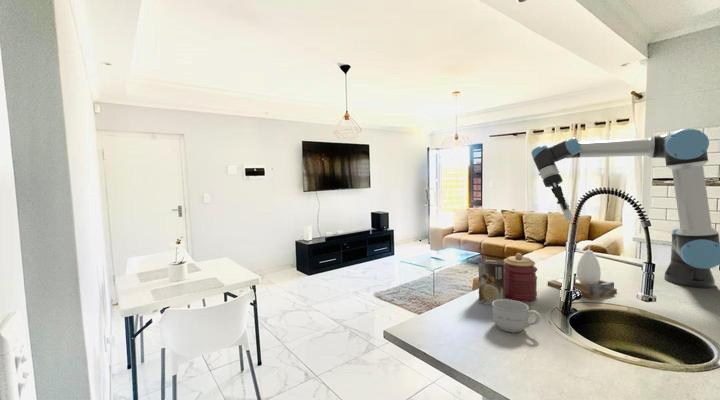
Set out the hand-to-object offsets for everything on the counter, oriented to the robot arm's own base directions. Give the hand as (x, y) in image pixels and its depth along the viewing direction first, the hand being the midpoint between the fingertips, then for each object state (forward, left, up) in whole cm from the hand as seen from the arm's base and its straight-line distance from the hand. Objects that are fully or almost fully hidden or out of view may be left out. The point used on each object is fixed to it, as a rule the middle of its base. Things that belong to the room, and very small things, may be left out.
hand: (569, 219), depth 144 cm
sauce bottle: (+7, +13, -26) cm, 30 cm away
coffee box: (+50, +5, -28) cm, 57 cm away
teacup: (+59, +25, -28) cm, 70 cm away
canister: (+36, +5, -28) cm, 46 cm away
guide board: (+7, +10, -28) cm, 30 cm away
